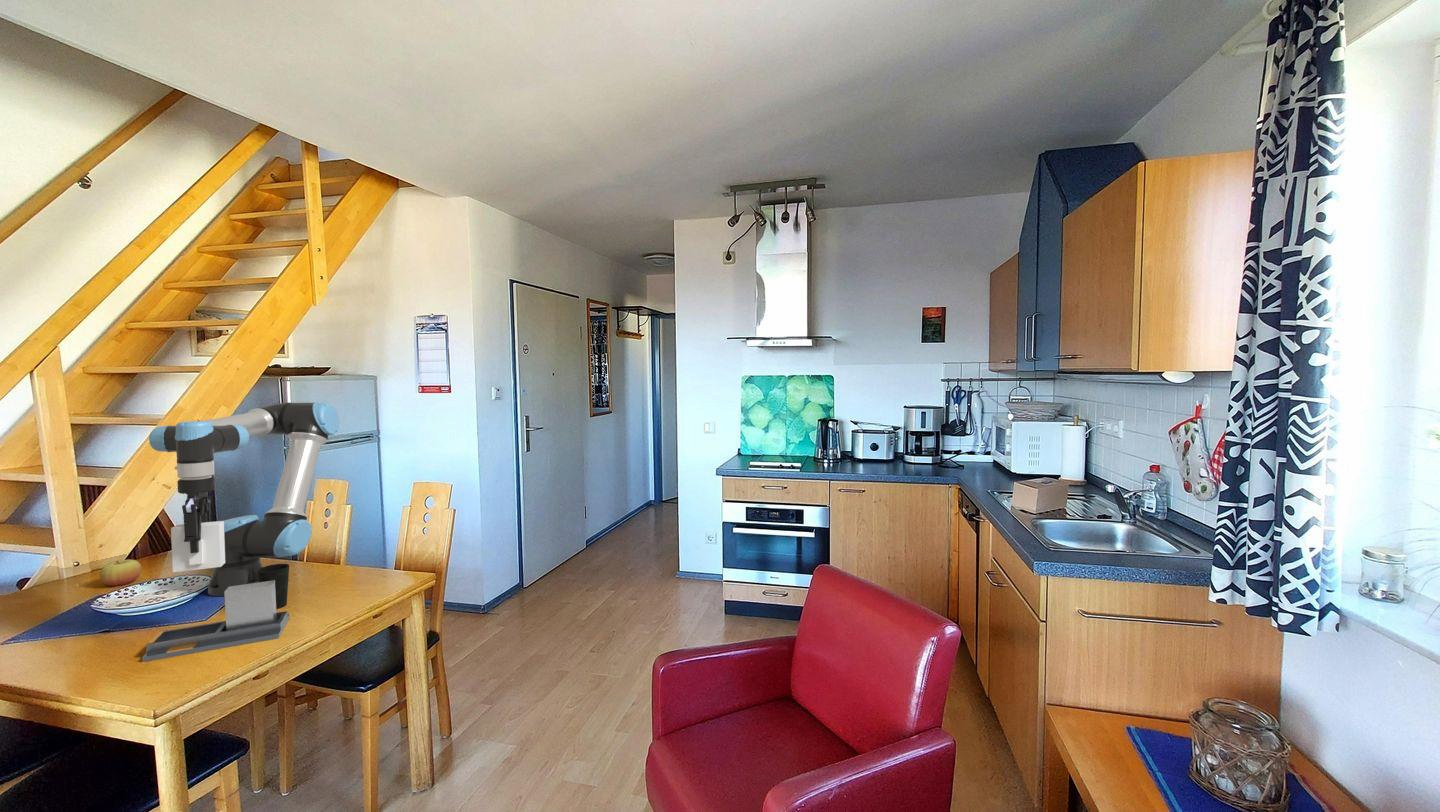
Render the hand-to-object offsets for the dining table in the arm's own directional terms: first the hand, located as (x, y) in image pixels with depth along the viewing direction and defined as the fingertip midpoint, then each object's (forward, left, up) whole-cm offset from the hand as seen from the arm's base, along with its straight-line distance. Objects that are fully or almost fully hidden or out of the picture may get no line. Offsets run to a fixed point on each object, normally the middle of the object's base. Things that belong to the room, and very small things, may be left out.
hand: (199, 561), depth 157 cm
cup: (-9, +14, -19) cm, 26 cm away
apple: (-56, -36, -19) cm, 69 cm away
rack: (+10, +6, -19) cm, 22 cm away
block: (0, 0, -2) cm, 2 cm away
